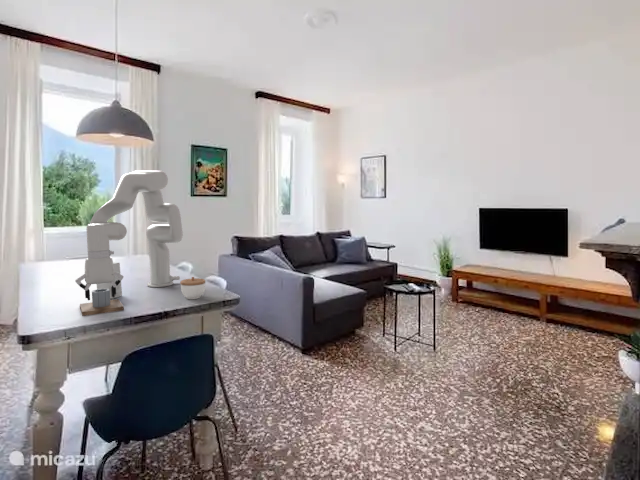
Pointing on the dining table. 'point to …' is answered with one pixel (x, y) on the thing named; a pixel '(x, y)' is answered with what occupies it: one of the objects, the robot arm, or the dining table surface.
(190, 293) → the lidded jar
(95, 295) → the roll
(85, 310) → the roll stand
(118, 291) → the skincare box
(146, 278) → the dining table surface
